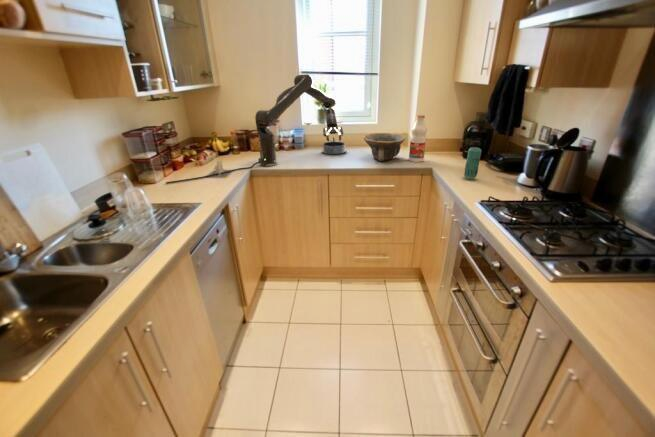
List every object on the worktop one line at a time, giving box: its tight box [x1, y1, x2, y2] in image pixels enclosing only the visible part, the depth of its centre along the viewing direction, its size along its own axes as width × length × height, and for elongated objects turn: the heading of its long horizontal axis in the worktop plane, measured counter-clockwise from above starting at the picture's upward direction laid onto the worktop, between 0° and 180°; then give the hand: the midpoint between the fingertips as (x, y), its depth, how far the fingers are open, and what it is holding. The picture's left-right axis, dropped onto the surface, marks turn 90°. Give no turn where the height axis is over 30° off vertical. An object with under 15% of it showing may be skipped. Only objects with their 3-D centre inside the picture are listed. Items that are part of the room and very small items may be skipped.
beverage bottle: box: [463, 140, 483, 179], centre depth 164 cm, size 6×7×20 cm
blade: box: [331, 136, 337, 146], centre depth 228 cm, size 3×5×10 cm, turn 9°
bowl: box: [363, 132, 406, 162], centre depth 206 cm, size 27×26×15 cm
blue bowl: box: [322, 141, 347, 155], centre depth 229 cm, size 17×17×6 cm
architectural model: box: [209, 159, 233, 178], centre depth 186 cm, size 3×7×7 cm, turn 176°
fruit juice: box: [408, 114, 428, 163], centre depth 199 cm, size 9×9×28 cm
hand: (334, 140), depth 225 cm, fingers open, 8 cm apart
